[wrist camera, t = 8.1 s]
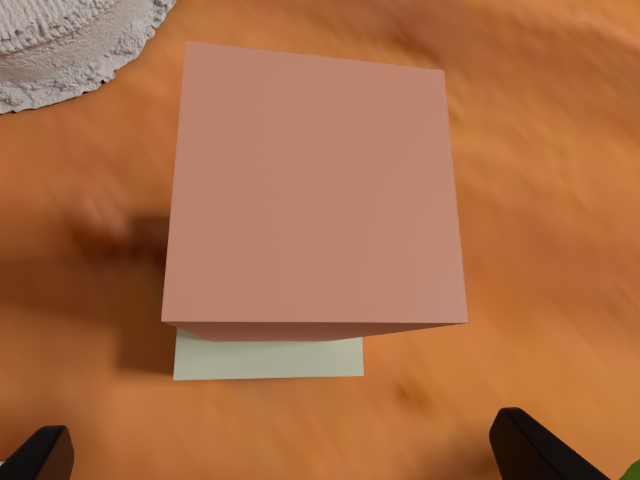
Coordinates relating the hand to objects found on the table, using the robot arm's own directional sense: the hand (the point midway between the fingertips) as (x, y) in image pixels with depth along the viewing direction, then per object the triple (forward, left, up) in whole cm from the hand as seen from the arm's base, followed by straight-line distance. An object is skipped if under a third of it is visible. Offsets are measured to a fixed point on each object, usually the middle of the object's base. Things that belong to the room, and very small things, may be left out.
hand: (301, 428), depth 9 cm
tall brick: (+4, +1, -9) cm, 10 cm away
